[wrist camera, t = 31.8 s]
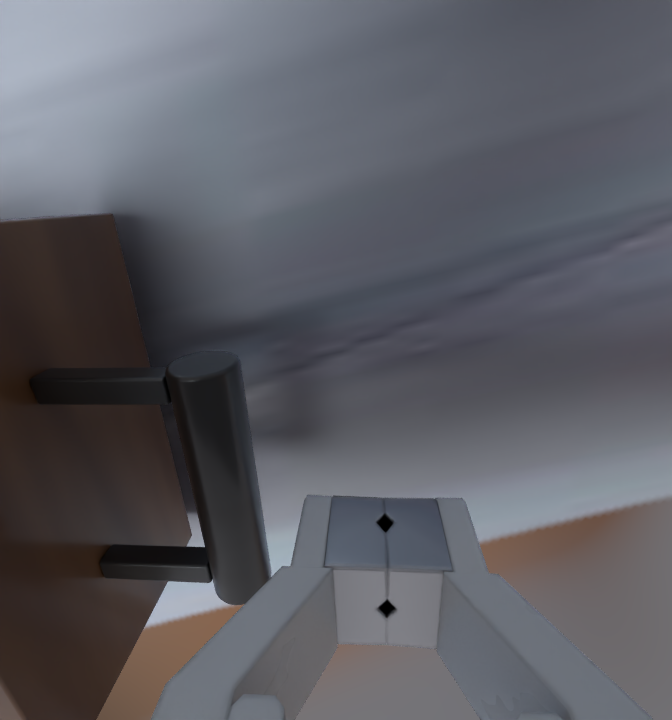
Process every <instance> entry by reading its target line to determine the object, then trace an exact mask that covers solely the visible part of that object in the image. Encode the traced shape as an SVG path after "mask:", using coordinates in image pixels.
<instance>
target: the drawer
mask: <svg viewBox="0 0 672 720" xmlns="http://www.w3.org/2000/svg"><path fill="white" fill-rule="evenodd" d="M171 402H172V406H173V411H174V415H175V419H176V423H177V428H178V432H179V436H180V441H181V445H182V449H183V454H184V458H185V462H186V466H187V471H188V475H189V479H190V484H191V488H192V492H193V497H194V501H195V505H196V509H197V514H198V518H199V522H200V527H201V531H202V535H203V540H204V544H205V547H186V546H187V544H188V542H189V540H190V538H191V536H192V533H191V529H190V525H189V521H188V517H187V513H186V509H185V505H184V501H183V496H182V492H181V488H180V484H179V480H178V476H177V472H176V468H175V464H174V460H173V456H172V452H171V448H170V444H169V440H168V436H167V432H166V427H165V423H164V419H163V415H162V411H161V407H160V405H167V404H170V403H171ZM270 578H271V566H270V559H269V552H268V546H267V539H266V532H265V526H264V519H263V512H262V505H261V499H260V492H259V485H258V479H257V472H256V465H255V458H254V452H253V445H252V438H251V432H250V425H249V418H248V411H247V405H246V398H245V391H244V385H243V378H242V371H241V364H240V360H239V358H238V357H237V356H236V355H235V354H233V353H230V352H225V351H205V352H198V353H194V354H190V355H187V356H184V357H181V358H179V359H177V360H175V361H173V362H172V363H170V364H169V365H168V366H167V367H150V362H149V358H148V354H147V350H146V346H145V342H144V338H143V334H142V330H141V326H140V322H139V318H138V314H137V310H136V306H135V302H134V298H133V293H132V289H131V285H130V281H129V277H128V273H127V269H126V265H125V261H124V257H123V253H122V249H121V245H120V241H119V237H118V233H117V228H116V224H115V220H114V216H113V214H111V213H105V214H83V215H64V216H49V217H35V218H20V219H5V220H0V720H96V719H97V717H98V715H99V713H100V711H101V709H102V707H103V706H104V703H105V702H106V700H107V698H108V696H109V694H110V692H111V690H112V688H113V686H114V684H115V682H116V680H117V678H118V677H119V675H120V673H121V671H122V669H123V667H124V665H125V663H126V661H127V659H128V657H129V655H130V654H131V652H132V650H133V648H134V646H135V644H136V642H137V640H138V638H139V636H140V634H141V632H142V630H143V629H144V627H145V625H146V623H147V621H148V619H149V617H150V615H151V613H152V611H153V609H154V607H155V605H156V603H157V602H158V600H159V598H160V596H161V594H162V592H163V590H164V588H165V586H166V584H167V582H168V581H176V582H200V583H210V582H211V581H212V579H213V583H214V587H215V591H216V593H217V595H218V597H219V598H220V599H221V600H223V601H224V602H226V603H228V604H231V605H243V604H245V603H246V602H247V601H248V600H249V599H250V598H251V597H252V596H253V595H254V594H255V593H256V592H257V591H258V590H259V589H260V588H261V587H262V586H263V585H264V584H265V583H266V582H267V581H268V580H269V579H270Z"/></svg>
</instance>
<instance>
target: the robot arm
mask: <svg viewBox="0 0 672 720" xmlns="http://www.w3.org/2000/svg"><path fill="white" fill-rule="evenodd" d="M386 642H387V645H393V646H405V647H417V648H429V649H437V653H438V655H439V656H440V658H441V659H442V661H443V662H444V664H445V665H446V667H447V669H448V670H449V672H450V673H451V675H452V676H453V678H454V680H455V681H456V683H457V684H458V685H459V687H460V689H461V690H462V692H463V694H464V695H465V697H466V698H467V700H468V701H469V703H470V704H471V706H472V708H473V709H474V711H475V712H476V714H477V715H478V717H479V718H480V720H653V718H652V717H651V716H650V715H649V714H648V713H647V712H646V711H645V710H644V709H643V708H642V707H641V706H639V704H637V703H636V702H635V701H634V700H633V699H632V698H631V697H630V696H629V695H628V694H627V693H626V692H625V691H624V690H622V689H621V688H620V687H619V686H618V685H617V684H616V683H615V682H614V681H613V680H612V679H611V678H610V677H608V676H607V675H606V674H605V673H604V672H603V671H602V670H601V669H600V668H599V667H597V665H595V664H594V663H593V662H592V661H591V660H590V659H589V658H588V657H587V656H586V655H585V654H584V653H582V652H581V651H580V650H579V649H578V648H577V647H576V646H575V645H574V644H573V643H572V642H571V641H570V640H569V639H567V638H566V637H565V636H564V635H563V634H562V633H561V632H560V631H559V630H558V629H557V628H556V627H555V626H554V625H553V624H551V623H550V622H549V621H548V620H547V619H546V618H545V617H544V616H543V615H542V614H541V613H540V612H539V611H537V610H536V609H535V608H534V607H533V606H532V605H531V604H530V603H529V602H528V601H527V600H526V599H525V598H523V597H522V596H521V595H520V594H519V593H518V592H517V591H516V590H515V589H514V588H513V587H512V586H511V585H509V584H508V583H507V582H506V581H505V580H504V579H503V578H502V577H501V576H500V575H499V574H489V572H488V569H487V566H486V563H485V560H484V557H483V554H482V551H481V548H480V545H479V542H478V539H477V535H476V532H475V529H474V526H473V523H472V520H471V517H470V514H469V511H468V508H467V505H466V502H465V501H464V500H463V499H462V498H435V499H434V498H378V497H355V496H321V495H307V497H306V498H305V500H304V504H303V509H302V514H301V519H300V523H299V528H298V533H297V538H296V542H295V547H294V552H293V557H292V562H291V566H282V567H281V568H280V569H279V570H278V571H277V572H276V573H275V574H274V575H273V576H272V577H271V578H270V579H269V580H268V581H267V582H266V583H265V584H264V585H263V586H262V587H261V588H260V589H259V590H258V591H257V592H256V593H255V594H254V595H253V596H252V597H251V598H250V599H249V600H248V601H247V602H246V603H245V604H244V605H243V606H242V607H241V608H240V610H239V611H238V612H237V613H236V614H235V615H234V616H233V617H232V618H231V619H230V620H229V621H228V622H227V623H226V624H225V625H224V626H223V627H222V628H221V629H220V630H219V631H218V632H217V633H216V634H215V635H214V636H213V637H212V638H211V639H210V640H209V641H208V642H207V643H206V644H205V645H204V646H203V647H202V648H201V649H200V650H199V651H198V652H197V653H196V654H195V655H194V656H193V657H192V658H191V659H190V660H189V661H188V662H187V663H186V664H185V665H184V666H183V667H182V668H181V669H180V670H179V671H178V672H177V673H176V674H175V675H174V676H173V677H172V678H171V679H170V681H168V682H167V683H166V685H165V687H164V689H163V691H162V694H161V696H160V699H159V701H158V704H157V706H156V708H155V711H154V713H153V715H152V718H151V720H295V719H296V717H297V715H298V714H299V712H300V710H301V708H302V707H303V705H304V703H305V702H306V700H307V698H308V697H309V695H310V693H311V692H312V690H313V688H314V687H315V685H316V683H317V681H318V680H319V678H320V676H321V675H322V673H323V671H324V670H325V668H326V666H327V665H328V663H329V661H330V659H331V658H332V656H333V654H334V653H335V651H336V649H337V644H363V645H386Z"/></svg>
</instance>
